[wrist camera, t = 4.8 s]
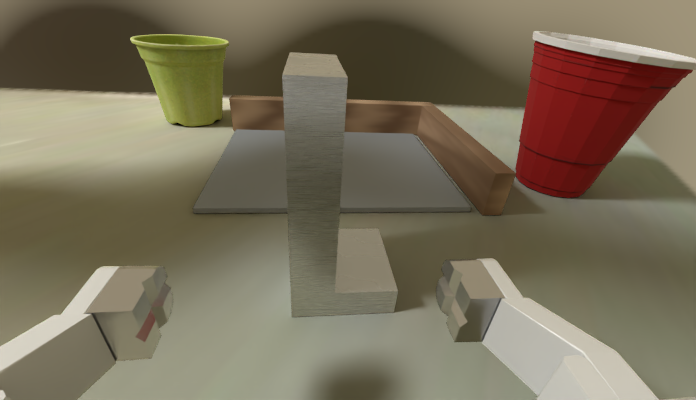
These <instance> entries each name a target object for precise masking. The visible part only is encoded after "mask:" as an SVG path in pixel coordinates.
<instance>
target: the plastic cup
mask: <svg viewBox="0 0 696 400" xmlns="http://www.w3.org/2000/svg"><path fill="white" fill-rule="evenodd" d="M533 40H536V41H535V43H534V46H535V47H534V56H533V60H532V62H533V65H532V70H531V74H530V77H531V80H530V85H529V91H528V96H527V102H526V107H525V113H524V118H523V124H522V129H521V135H520V140H519V142H520V147H519V153H518V158H517V164H516V177H517V179H518V180H519V181H520V182H521V183H523V184H524V185H526V186H527V187H529V188H531V189H533V190H536V191H538V192H541V193H544V194H548V195H552V196H557V197H565V198H571V197H579V196H580V195H582V194H583V193H584V192H585V191H586V190H587V189H588V188H590V186H591V185H592V184H593V182H594V181H595V180H596V178H597V177H598V176H599V174H600V173H601V172H602V170H603V169H604V168H605V166H606V165H607V164H608V163H609V162H611V161H612V160H613V158H614V157H615V156H616V155H617V153H618V152H619V151H620V150H621V148H622V147H623V146H624V145H625V143H626V142H627V141H628V140H629V138H630V137H631V136H632V135H633V133H634V132H635V131H636V130H637V128H638V127H639V126H640V125H641V123H642V122H643V121H644V120H645V118H646V117H647V116H648V115H649V113H650V112H651V111H652V109H653V108H654V107H655V106H656V105H657V103H658V102H659V101H661V100H662V99H663V98H664V97H665V96H666V95H667V94H668V92H669V91H670V90H671V89H672V88H673V87H675V86H676V85H677V84H678V83H679V82H680V81H681V80H682V79H683V78H685V77H686V76H687V75H688V74H689V73H691V72H692V71H693V70H695V69H696V59H694V58H690V57H686V56H682V55H678V54H674V53H669V52H664V51H660V50H655V49H650V48H645V47H640V46H635V45H629V44H624V43H619V42H613V41H607V40H601V39H595V38H589V37H583V36H576V35H570V34H562V33H554V32H543V31H535V32H534V33H533Z"/></svg>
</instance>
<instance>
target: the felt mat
mask: <svg viewBox="0 0 696 400" xmlns="http://www.w3.org/2000/svg"><path fill="white" fill-rule="evenodd" d="M470 210H471V206H470V205H469V204H468V202H467V201H466V200H465V199H464V197H463V196H462V195H461V194H460V192H459V191H458V190H457V188H456V187H455V186H454V185H453V183H452V182H451V181H450V180H449V178H448V177H447V176H446V175H445V173H444V172H443V171H442V170H441V168H440V167H439V166H438V165H437V163H436V162H435V161H434V159H433V158H432V157H431V156H430V154H429V153H428V152H427V151H426V149H425V148H424V147H423V146H422V144H421V143H420V142H419V141H418V139H417V138H416V137H415V136H414V134H405V133H364V132H344V148H343V165H342V182H341V198H340V212H470ZM193 213H288V206H287V180H286V155H285V131H282V130H241V129H236V131H235V133H234V134H233V136H232V138H231V140H230V142H229V143H228V145H227V147H226V149H225V151H224V152H223V154H222V156H221V158H220V160H219V161H218V163H217V165H216V167H215V169H214V170H213V172H212V174H211V176H210V178H209V179H208V181H207V183H206V185H205V187H204V189H203V190H202V192H201V194H200V196H199V198H198V199H197V201H196V203H195V205H194V207H193Z"/></svg>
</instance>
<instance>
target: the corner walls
mask: <svg viewBox="0 0 696 400" xmlns="http://www.w3.org/2000/svg"><path fill="white" fill-rule="evenodd" d="M229 100H230V108H231V116H232V124H233V130H234V131H236V129H241V130H282V131H285V129H284V103H283V97H266V96H239V95H232V96H231V97H230V99H229ZM344 132H364V133H405V134H414V135H417V136H418V137H419V138H420V139H421V141H422V142H423V143H424V144H425V146H426V147H427V148H428V149H429V150H430V152H431V153H432V154H433V155H434V157H435V158H436V159H437V160H438V161H439V163H440V164H441V165H442V166H443V168H444V169H445V170H446V171H447V173H448V174H449V175H450V176H451V177H452V179H453V180H454V181H455V182H456V184H457V185H458V186H459V187H460V188H461V190H462V191H463V192H464V193H465V195H466V196H467V197H468V198H469V200H470V201H471V202H472V203H473V204H474V206H475V207H476V208H477V209H478V211H479V212H480V213H481V214H482V215H501V214H502V211H503V208H504V205H505V203H506V200H507V197H508V194H509V192H510V189H511V186H512V183H513V181H514V178H515V175H516V173H515V172H514V171H512V170H511V169H510V168H509V167H508V166H506V165H505V164H504V163H503V162H502V161H500V160H499V159H498V158H497V157H496V156H494V155H493V154H492V153H491V152H490V151H488V150H487V149H486V148H485V147H484V146H482V145H481V144H480V143H479V142H477V141H476V140H475V139H474V138H473V137H471V136H470V135H469V134H468V133H467V132H465V131H464V130H463V129H462V128H461V127H459V126H458V125H457V124H456V123H455V122H453V121H452V120H451V119H450V118H449V117H447V116H446V115H445V114H444V113H442V112H441V111H440V110H439V109H438V108H436V107H435V106H434V105H433V104H432V103H430V102H402V101H400V102H399V101H374V100H347V99H346V114H345V131H344Z"/></svg>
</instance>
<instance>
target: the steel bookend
mask: <svg viewBox="0 0 696 400" xmlns="http://www.w3.org/2000/svg"><path fill="white" fill-rule="evenodd" d="M282 77H283V103H284V129H285V155H286V180H287V206H288V232H289V257H290V283H291V309H292V317H303V316H326V315H348V314H371V313H393V312H394V309H395V304H396V299H397V294H398V289H397V286H396V283H395V279H394V276H393V273H392V270H391V266H390V263H389V260H388V257H387V254H386V250H385V247H384V244H383V241H382V238H381V234H380V231H379V228H366V229H339V215H340V198H341V182H342V165H343V148H344V131H345V114H346V97H347V80H348V78H347V75H346V73H345V72H344V70H343V68H342V66H341V64H340V62H339V60H338V58H337V56H336V55H327V54H307V53H291V52H290V54H289V57H288V60H287V63H286V66H285V68H284V71H283V75H282Z"/></svg>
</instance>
